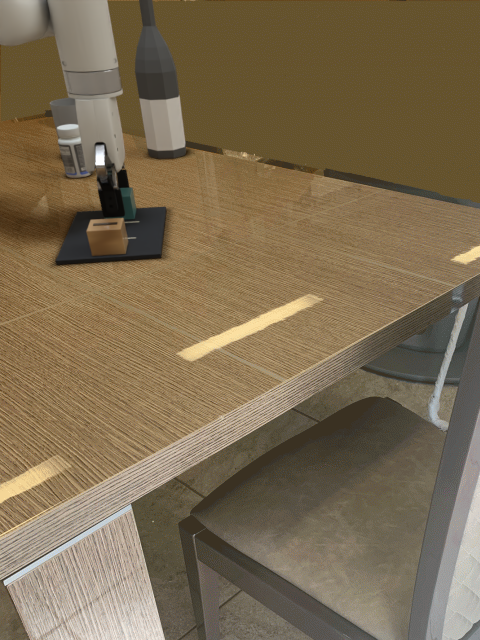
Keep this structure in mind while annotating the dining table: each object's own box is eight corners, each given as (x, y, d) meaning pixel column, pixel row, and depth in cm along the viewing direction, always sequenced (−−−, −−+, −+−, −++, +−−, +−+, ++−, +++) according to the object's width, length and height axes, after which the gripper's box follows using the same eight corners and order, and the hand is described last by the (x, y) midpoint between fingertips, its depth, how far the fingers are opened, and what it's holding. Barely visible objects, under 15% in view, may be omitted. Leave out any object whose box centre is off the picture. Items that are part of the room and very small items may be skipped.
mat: (56, 264, 87) (55, 260, 87) (77, 215, 103) (76, 211, 102) (161, 258, 89) (160, 253, 88) (166, 210, 104) (165, 206, 104)
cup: (95, 147, 136) (84, 95, 130) (112, 155, 131) (101, 101, 125) (56, 154, 132) (43, 101, 126) (72, 163, 127) (59, 107, 121)
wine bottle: (177, 160, 128) (151, -24, 110) (140, 157, 130) (109, -24, 111) (194, 150, 134) (173, -26, 116) (159, 147, 136) (132, -26, 118)
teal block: (104, 220, 99) (99, 197, 97) (107, 211, 102) (103, 188, 100) (134, 219, 99) (130, 195, 97) (136, 209, 103) (132, 186, 101)
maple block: (92, 256, 88) (86, 230, 86) (96, 243, 91) (90, 218, 89) (125, 254, 88) (120, 228, 86) (128, 241, 92) (123, 216, 90)
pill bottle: (91, 170, 123) (80, 122, 118) (93, 176, 119) (83, 128, 114) (65, 172, 121) (53, 124, 116) (66, 179, 118) (55, 130, 113)
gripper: (75, 73, 96) (99, 190, 106) (55, 95, 82) (85, 226, 93) (126, 72, 97) (145, 187, 107) (115, 93, 83) (138, 223, 94)
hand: (117, 205), depth 100 cm, fingers open, 9 cm apart
